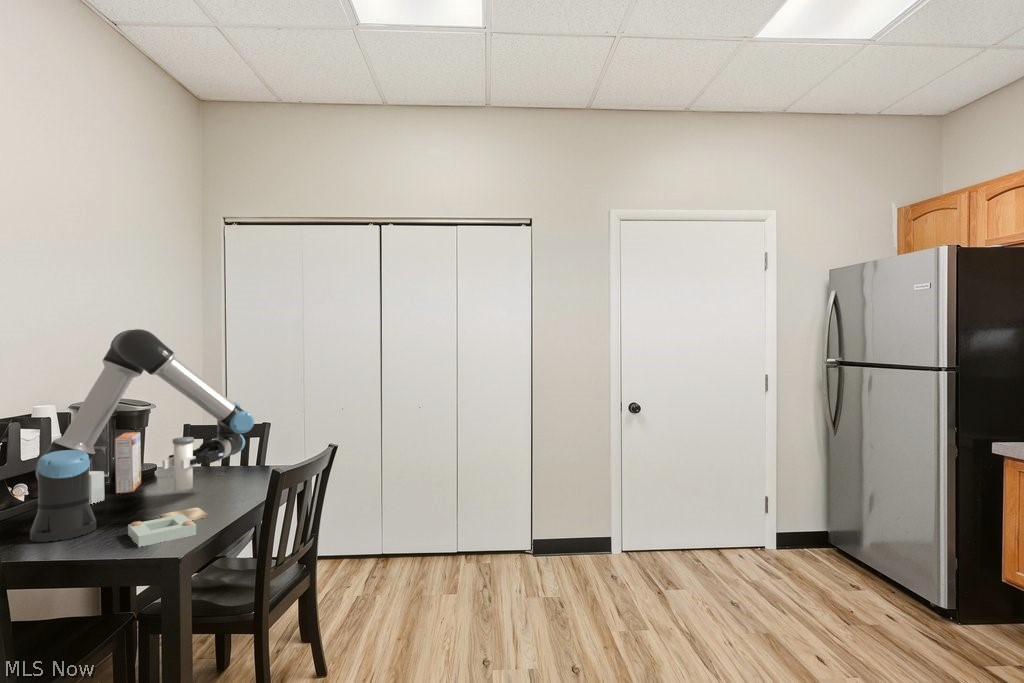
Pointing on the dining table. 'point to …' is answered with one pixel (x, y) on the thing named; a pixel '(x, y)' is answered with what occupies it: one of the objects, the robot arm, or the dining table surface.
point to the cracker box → (128, 462)
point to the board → (187, 514)
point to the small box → (96, 486)
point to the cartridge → (181, 451)
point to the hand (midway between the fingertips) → (173, 464)
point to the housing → (161, 530)
